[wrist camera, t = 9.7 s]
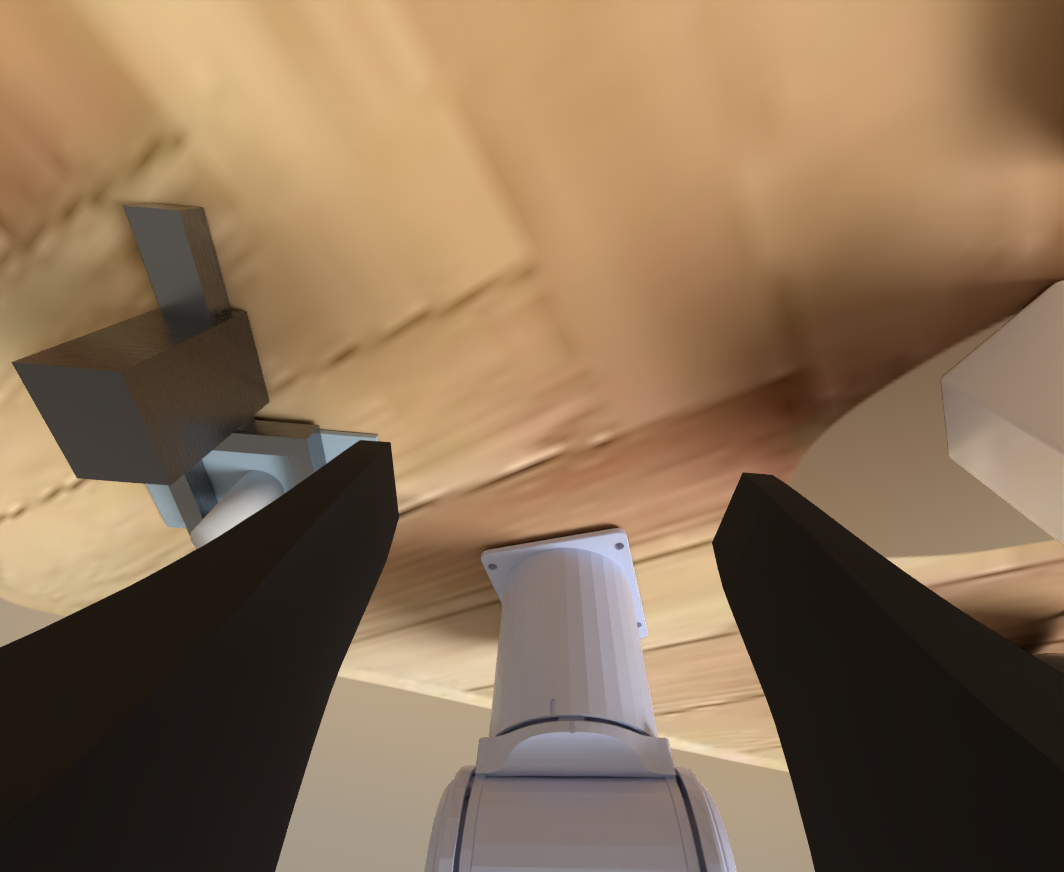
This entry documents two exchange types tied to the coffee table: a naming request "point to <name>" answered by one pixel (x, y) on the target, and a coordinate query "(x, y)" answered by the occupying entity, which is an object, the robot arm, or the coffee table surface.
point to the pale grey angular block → (1015, 411)
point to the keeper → (244, 485)
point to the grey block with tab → (166, 377)
